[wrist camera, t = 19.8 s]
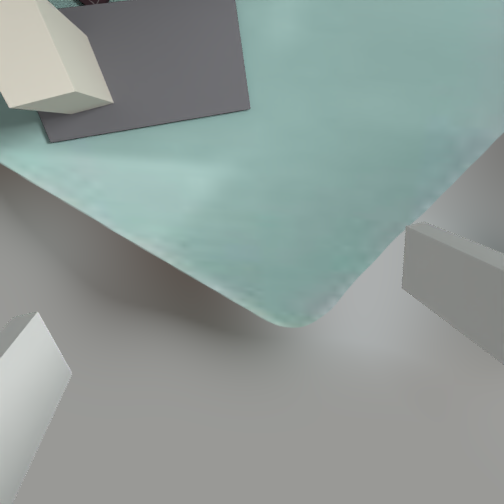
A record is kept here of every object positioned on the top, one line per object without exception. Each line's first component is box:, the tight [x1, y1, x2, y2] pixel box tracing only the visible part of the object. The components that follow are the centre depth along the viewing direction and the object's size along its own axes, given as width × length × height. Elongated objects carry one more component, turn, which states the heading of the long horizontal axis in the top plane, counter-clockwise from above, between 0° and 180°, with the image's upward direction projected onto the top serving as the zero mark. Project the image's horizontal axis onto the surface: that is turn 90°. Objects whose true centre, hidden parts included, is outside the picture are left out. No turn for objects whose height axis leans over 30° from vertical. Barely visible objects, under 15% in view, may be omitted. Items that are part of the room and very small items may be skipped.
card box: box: [0, 0, 114, 114], centre depth 24 cm, size 6×4×12 cm
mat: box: [38, 0, 250, 142], centre depth 31 cm, size 22×11×1 cm, turn 99°
